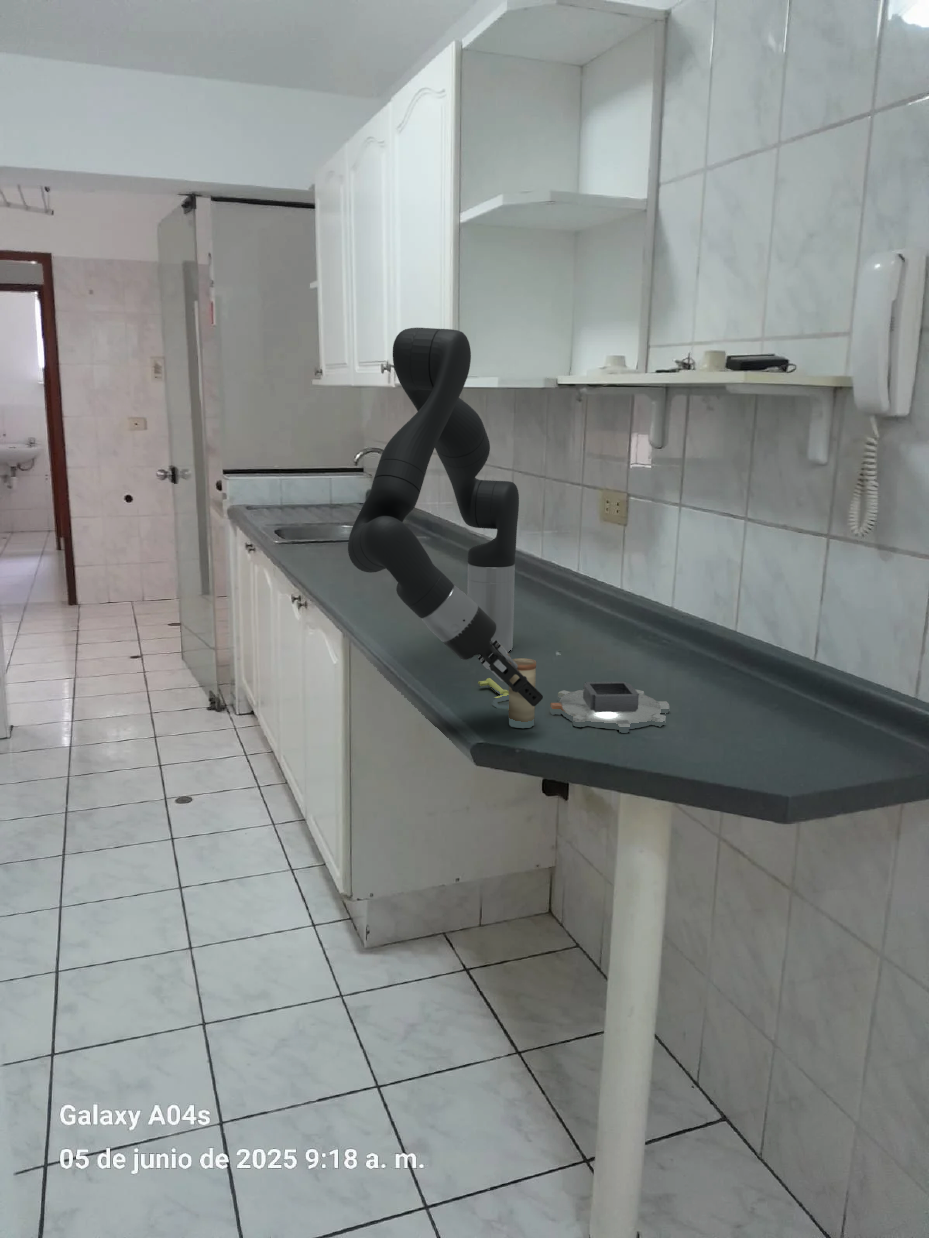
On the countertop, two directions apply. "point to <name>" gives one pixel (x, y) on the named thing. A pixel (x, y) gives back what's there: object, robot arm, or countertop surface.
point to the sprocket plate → (610, 704)
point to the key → (495, 686)
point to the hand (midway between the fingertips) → (532, 693)
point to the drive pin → (518, 704)
